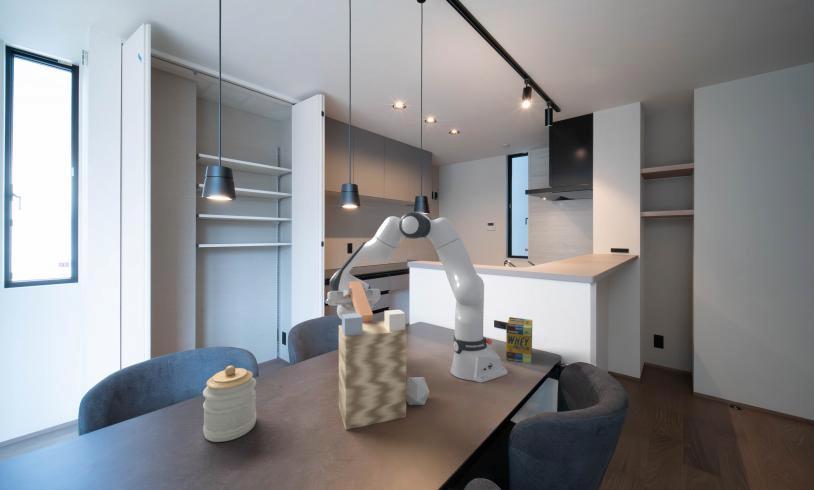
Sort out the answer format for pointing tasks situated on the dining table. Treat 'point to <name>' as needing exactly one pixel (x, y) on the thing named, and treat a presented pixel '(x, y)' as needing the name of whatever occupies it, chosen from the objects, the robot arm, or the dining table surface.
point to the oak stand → (372, 375)
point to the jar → (229, 404)
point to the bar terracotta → (360, 301)
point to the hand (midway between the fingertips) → (357, 289)
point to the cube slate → (352, 324)
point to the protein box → (519, 340)
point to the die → (416, 391)
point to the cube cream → (394, 320)
